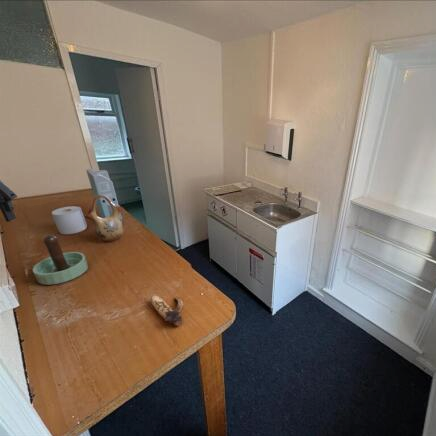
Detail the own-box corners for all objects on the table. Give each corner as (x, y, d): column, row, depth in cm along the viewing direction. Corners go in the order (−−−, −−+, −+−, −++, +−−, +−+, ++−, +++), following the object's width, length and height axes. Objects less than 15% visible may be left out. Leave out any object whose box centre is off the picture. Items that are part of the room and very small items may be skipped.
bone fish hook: (196, 317, 83) (170, 292, 92) (195, 307, 81) (169, 283, 90) (170, 333, 76) (145, 305, 85) (169, 323, 74) (143, 295, 83)
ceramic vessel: (95, 248, 115) (80, 201, 104) (90, 241, 120) (75, 196, 109) (133, 237, 126) (122, 194, 116) (127, 231, 132) (116, 189, 121)
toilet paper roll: (88, 223, 137) (82, 204, 132) (86, 231, 128) (79, 212, 124) (61, 227, 131) (53, 208, 126) (56, 236, 122) (48, 216, 117)
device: (123, 222, 142) (110, 173, 129) (107, 225, 136) (92, 175, 124) (114, 213, 151) (102, 167, 139) (100, 216, 146) (85, 169, 133)
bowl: (27, 288, 89) (21, 276, 86) (53, 264, 102) (48, 253, 100) (76, 283, 93) (72, 272, 91) (95, 260, 106) (91, 250, 104)
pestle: (52, 276, 94) (35, 239, 87) (60, 269, 99) (44, 233, 92) (68, 275, 96) (52, 238, 88) (74, 267, 100) (60, 232, 93)
